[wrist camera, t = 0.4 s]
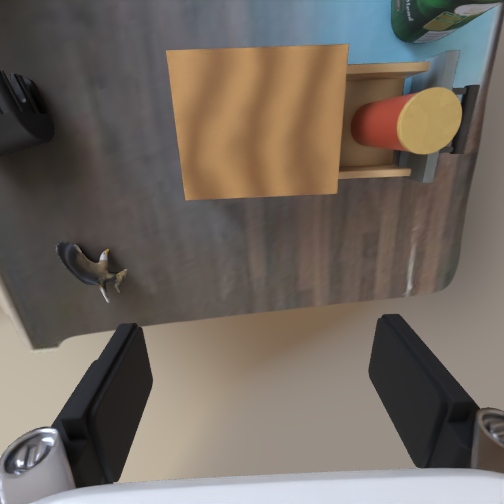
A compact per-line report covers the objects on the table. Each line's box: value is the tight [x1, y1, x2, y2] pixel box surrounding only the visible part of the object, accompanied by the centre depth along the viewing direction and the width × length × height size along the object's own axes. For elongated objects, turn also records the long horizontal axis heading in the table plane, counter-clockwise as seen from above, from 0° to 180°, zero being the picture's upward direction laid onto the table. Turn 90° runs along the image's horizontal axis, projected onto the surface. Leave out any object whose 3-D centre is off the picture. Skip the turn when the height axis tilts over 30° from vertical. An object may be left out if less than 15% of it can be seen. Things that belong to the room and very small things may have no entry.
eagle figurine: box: [56, 241, 128, 303], centre depth 40 cm, size 8×7×9 cm
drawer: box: [338, 50, 480, 183], centre depth 33 cm, size 20×13×6 cm, turn 92°
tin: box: [351, 87, 462, 154], centre depth 29 cm, size 5×5×12 cm
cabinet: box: [166, 44, 349, 200], centre depth 32 cm, size 17×14×8 cm
